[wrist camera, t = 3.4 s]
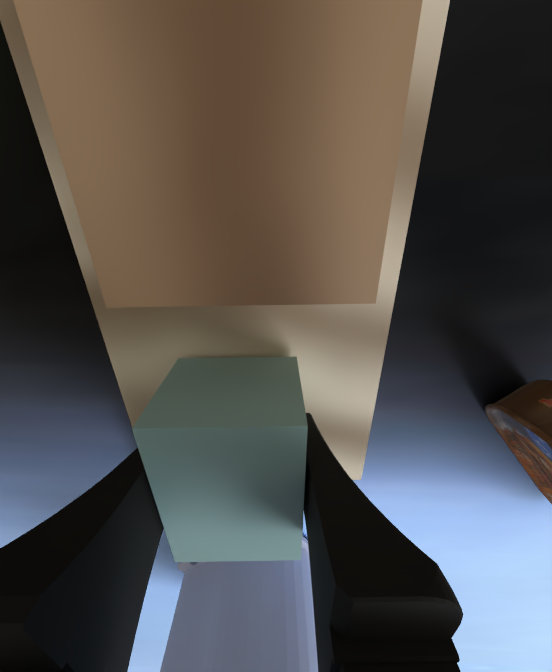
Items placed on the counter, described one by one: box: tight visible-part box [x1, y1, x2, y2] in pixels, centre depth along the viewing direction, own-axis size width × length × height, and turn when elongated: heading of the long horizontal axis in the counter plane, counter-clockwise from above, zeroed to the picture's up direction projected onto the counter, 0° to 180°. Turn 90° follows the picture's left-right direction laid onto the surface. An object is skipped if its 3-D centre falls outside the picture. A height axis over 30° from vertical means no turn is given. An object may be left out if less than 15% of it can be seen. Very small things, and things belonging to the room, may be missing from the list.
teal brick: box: [132, 356, 308, 562], centre depth 11 cm, size 5×7×4 cm
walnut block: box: [13, 0, 423, 308], centre depth 7 cm, size 7×7×4 cm
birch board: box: [0, 0, 450, 480], centre depth 11 cm, size 20×12×1 cm, turn 1°
